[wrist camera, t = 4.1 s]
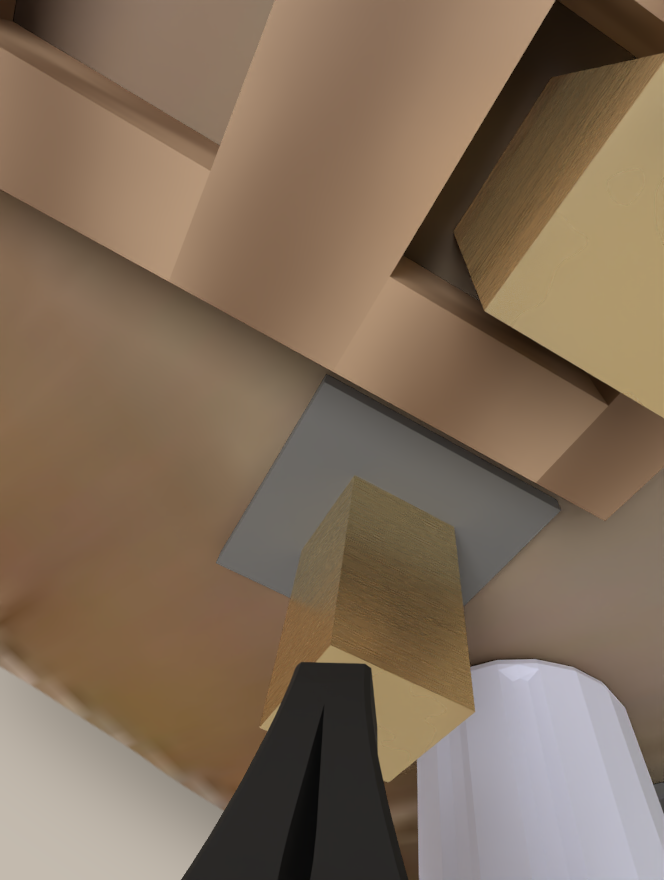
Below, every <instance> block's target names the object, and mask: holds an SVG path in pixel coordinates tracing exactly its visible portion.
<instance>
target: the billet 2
mask: <svg viewBox="0 0 664 880" xmlns="http://www.w3.org/2000/svg"><path fill="white" fill-rule="evenodd" d="M454 235H455V237H456V240H457V242H458V245H459V247H460V250H461V253H462V255H463V258H464V260H465V263H466V265H467V268H468V271H469V273H470V276H471V278H472V281H473V283H474V286H475V288H476V291H477V294H478V296H479V299H480V301H481V304H482V306H483V309H484V311H485V312H487V313H489V314H490V315H492V316H494V317H495V318H497V319H499V320H500V321H502V322H504V323H505V324H507V325H509V326H510V327H512V328H514V329H515V330H517V331H519V332H520V333H522V334H524V335H525V336H527V337H529V338H530V339H532V340H534V341H536V342H537V343H539V344H541V345H542V346H544V347H546V348H547V349H549V350H551V351H552V352H554V353H556V354H557V355H559V356H561V357H562V358H564V359H566V360H567V361H569V362H571V363H572V364H574V365H576V366H577V367H579V368H581V369H582V370H584V371H586V372H587V373H589V374H591V375H592V376H594V377H596V378H597V379H599V380H601V381H602V382H604V383H606V384H608V385H609V386H611V387H613V388H614V389H616V390H618V391H619V392H621V393H623V394H624V395H626V396H628V397H629V398H631V399H633V400H634V401H636V402H638V403H639V404H641V405H643V406H644V407H646V408H648V409H649V410H651V411H653V412H654V413H656V414H658V415H659V416H661V417H663V418H664V53H661V54H656V55H652V56H647V57H643V58H638V59H634V60H629V61H625V62H620V63H615V64H611V65H606V66H602V67H597V68H593V69H588V70H584V71H579V72H574V73H570V74H565V75H561V76H556V77H552V78H551V79H550V80H549V82H548V84H547V85H546V87H545V88H544V90H543V91H542V93H541V95H540V96H539V98H538V99H537V101H536V102H535V104H534V106H533V107H532V109H531V110H530V112H529V113H528V115H527V117H526V118H525V120H524V121H523V123H522V124H521V126H520V128H519V129H518V131H517V132H516V134H515V135H514V137H513V139H512V140H511V142H510V143H509V145H508V146H507V148H506V150H505V151H504V153H503V154H502V156H501V158H500V159H499V161H498V162H497V164H496V165H495V167H494V169H493V170H492V172H491V173H490V175H489V176H488V178H487V180H486V181H485V183H484V184H483V186H482V187H481V189H480V191H479V192H478V194H477V195H476V197H475V198H474V200H473V202H472V203H471V205H470V206H469V208H468V209H467V211H466V213H465V214H464V216H463V217H462V219H461V221H460V222H459V224H458V225H457V227H456V228H455V230H454Z"/></svg>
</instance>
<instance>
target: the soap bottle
mask: <svg viewBox="0 0 664 880" xmlns="http://www.w3.org/2000/svg"><path fill="white" fill-rule="evenodd" d="M470 670H471V679H472V688H473V697H474V705H475V712H474V713H473V714H472V715H471V716H470V717H468V718H467V719H466V720H465V721H463V722H462V723H461V724H460V725H459V726H457V727H456V728H455V729H454V730H452V731H451V732H450V733H449V734H448V735H446V736H445V737H444V738H443V739H441V740H440V741H439V742H438V743H436V744H435V745H434V746H433V747H432V748H430V749H429V750H428V751H427V752H425V753H424V754H423V755H422V756H421V757H419V758H418V759H417V788H418V851H419V880H664V813H663V810H662V808H661V805H660V802H659V799H658V797H657V794H656V791H655V788H654V786H653V783H652V780H651V777H650V775H649V772H648V769H647V766H646V764H645V761H644V758H643V756H642V753H641V750H640V747H639V745H638V742H637V739H636V736H635V734H634V731H633V728H632V725H631V723H630V720H629V717H628V714H627V712H626V709H625V707H624V706H623V705H622V704H621V702H620V701H619V700H618V699H617V698H616V697H615V696H614V695H613V693H612V692H611V691H610V690H609V689H608V688H607V687H606V686H605V684H604V683H603V682H601V681H599V680H597V679H595V678H594V677H592V676H590V675H588V674H586V673H584V672H582V671H580V670H578V669H576V668H574V667H571V666H567V665H562V664H557V663H552V662H547V661H543V660H538V659H517V660H495V661H491V662H487V663H483V664H480V665H476V666H472V667H470Z"/></svg>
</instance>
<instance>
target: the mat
mask: <svg viewBox="0 0 664 880" xmlns="http://www.w3.org/2000/svg"><path fill="white" fill-rule="evenodd" d="M354 475H355V476H357V477H359V478H361V479H363V480H365V481H367V482H369V483H371V484H373V485H375V486H377V487H378V488H380V489H382V490H384V491H386V492H388V493H390V494H392V495H394V496H396V497H398V498H400V499H402V500H404V501H405V502H407V503H409V504H411V505H413V506H415V507H417V508H419V509H421V510H423V511H425V512H427V513H429V514H430V515H432V516H434V517H436V518H438V519H440V520H442V521H444V522H446V523H448V524H450V525H452V526H454V530H455V539H456V548H457V556H458V565H459V574H460V583H461V591H462V600H463V607H464V606H465V605H466V604H467V603H468V602H469V601H470V600H471V599H472V598H473V597H474V596H475V595H476V594H477V593H478V592H479V591H480V590H481V589H482V588H483V587H484V586H485V585H486V584H487V583H488V582H489V581H490V580H491V579H492V578H493V577H494V576H495V575H496V574H497V573H498V572H499V571H500V570H501V569H502V568H503V567H504V566H505V565H506V564H507V563H508V562H509V561H510V560H511V559H512V558H513V557H514V556H515V555H516V554H517V553H518V552H519V551H520V550H521V549H522V548H523V547H524V546H525V545H526V544H527V543H528V542H529V541H530V540H531V539H532V538H533V537H534V536H535V535H536V534H537V533H538V532H539V531H540V530H541V529H542V528H543V527H545V526H546V525H547V524H548V523H549V522H550V521H551V520H552V519H553V518H554V517H555V516H556V515H557V514H558V513H559V512H560V511H561V510H560V508H559V505H558V502H557V500H556V499H554V498H552V497H550V496H549V495H547V494H545V493H543V492H541V491H540V490H538V489H536V488H534V487H532V486H530V485H529V484H527V483H525V482H523V481H521V480H519V479H518V478H516V477H514V476H512V475H510V474H508V473H507V472H505V471H503V470H501V469H499V468H497V467H496V466H494V465H492V464H490V463H488V462H486V461H485V460H483V459H481V458H479V457H477V456H476V455H474V454H472V453H470V452H468V451H466V450H465V449H463V448H461V447H459V446H457V445H455V444H454V443H452V442H450V441H448V440H446V439H444V438H443V437H441V436H439V435H437V434H435V433H433V432H432V431H430V430H428V429H426V428H424V427H423V426H421V425H419V424H417V423H415V422H413V421H412V420H410V419H408V418H406V417H404V416H402V415H401V414H399V413H397V412H395V411H393V410H391V409H390V408H388V407H386V406H384V405H382V404H380V403H379V402H377V401H375V400H373V399H371V398H369V397H368V396H366V395H364V394H362V393H360V392H359V391H357V390H355V389H353V388H351V387H349V386H348V385H346V384H344V383H342V382H340V381H338V380H337V379H335V378H333V377H331V376H329V375H327V374H326V376H325V377H324V379H323V381H322V382H321V384H320V386H319V387H318V389H317V391H316V393H315V394H314V396H313V398H312V399H311V401H310V403H309V404H308V406H307V408H306V409H305V411H304V413H303V414H302V416H301V418H300V419H299V421H298V423H297V425H296V426H295V428H294V430H293V431H292V433H291V435H290V436H289V438H288V440H287V441H286V443H285V445H284V446H283V448H282V450H281V451H280V453H279V455H278V457H277V458H276V460H275V462H274V463H273V465H272V467H271V468H270V470H269V472H268V473H267V475H266V477H265V478H264V480H263V482H262V483H261V485H260V487H259V489H258V490H257V492H256V494H255V495H254V497H253V499H252V500H251V502H250V504H249V505H248V507H247V509H246V510H245V512H244V514H243V515H242V517H241V519H240V521H239V522H238V524H237V526H236V527H235V529H234V531H233V532H232V534H231V536H230V537H229V539H228V541H227V542H226V544H225V546H224V547H223V549H222V551H221V553H220V555H219V557H218V560H217V562H216V563H217V564H219V565H221V566H223V567H225V568H228V569H230V570H232V571H234V572H236V573H238V574H240V575H243V576H245V577H247V578H249V579H251V580H253V581H255V582H257V583H260V584H262V585H264V586H266V587H268V588H270V589H272V590H274V591H277V592H279V593H281V594H283V595H285V596H287V597H289V598H290V597H291V593H292V589H293V584H294V580H295V576H296V572H297V568H298V563H299V559H300V555H301V551H302V549H303V547H304V546H305V545H306V543H307V542H308V540H309V539H310V538H311V536H312V535H313V533H314V532H315V530H316V529H317V528H318V526H319V525H320V523H321V522H322V521H323V519H324V518H325V516H326V515H327V513H328V512H329V511H330V509H331V508H332V506H333V505H334V503H335V502H336V501H337V499H338V498H339V496H340V495H341V494H342V492H343V491H344V489H345V488H346V486H347V485H348V484H349V482H350V481H351V479H352V478H353V477H354Z"/></svg>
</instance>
